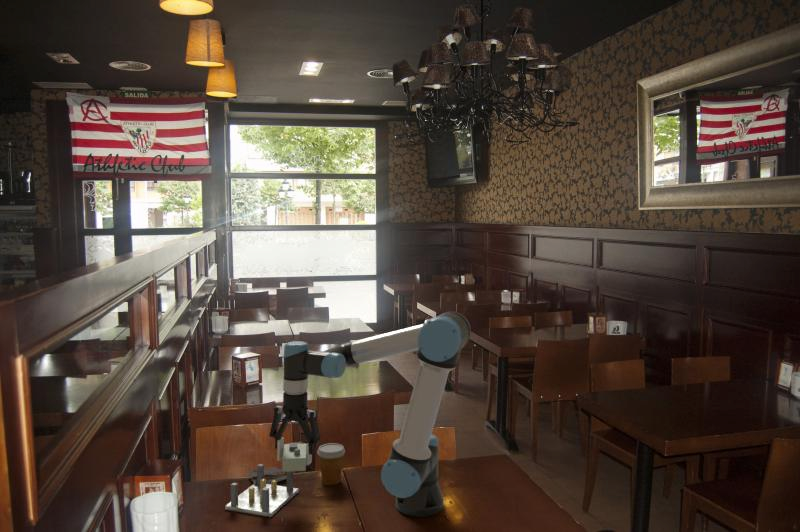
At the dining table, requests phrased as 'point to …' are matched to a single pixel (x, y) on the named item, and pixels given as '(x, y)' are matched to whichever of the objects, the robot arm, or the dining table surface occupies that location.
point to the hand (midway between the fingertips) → (294, 461)
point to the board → (294, 457)
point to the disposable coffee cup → (331, 462)
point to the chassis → (262, 495)
